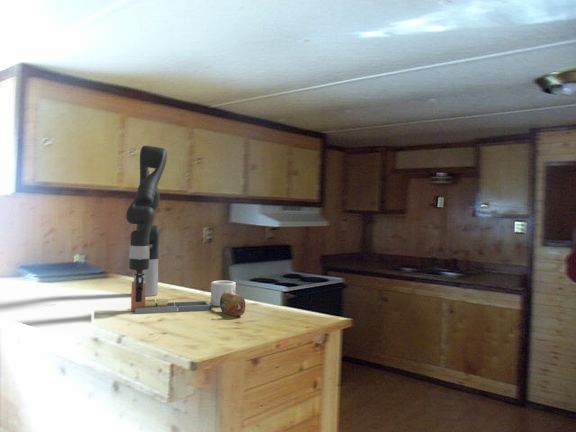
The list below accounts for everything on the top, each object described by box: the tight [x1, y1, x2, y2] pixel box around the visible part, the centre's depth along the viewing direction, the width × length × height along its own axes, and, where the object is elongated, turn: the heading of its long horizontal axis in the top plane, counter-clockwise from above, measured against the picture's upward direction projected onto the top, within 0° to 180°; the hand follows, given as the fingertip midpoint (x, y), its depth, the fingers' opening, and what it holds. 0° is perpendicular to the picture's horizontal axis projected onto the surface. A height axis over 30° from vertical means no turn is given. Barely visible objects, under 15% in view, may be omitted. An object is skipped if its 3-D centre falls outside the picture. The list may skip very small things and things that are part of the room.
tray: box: [174, 300, 213, 313], centre depth 199 cm, size 10×13×3 cm
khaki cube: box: [155, 298, 169, 307], centre depth 195 cm, size 4×4×4 cm
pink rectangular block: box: [130, 281, 146, 312], centre depth 192 cm, size 4×5×11 cm
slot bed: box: [133, 301, 179, 315], centre depth 194 cm, size 10×16×3 cm, turn 112°
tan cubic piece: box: [145, 298, 156, 307], centre depth 193 cm, size 4×4×4 cm
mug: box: [210, 280, 237, 308], centre depth 216 cm, size 14×11×10 cm
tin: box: [220, 293, 246, 317], centre depth 195 cm, size 15×3×8 cm, turn 40°
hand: (138, 300), depth 192 cm, fingers closed on pink rectangular block, 3 cm apart
